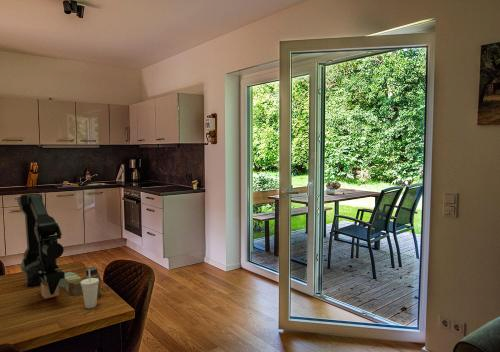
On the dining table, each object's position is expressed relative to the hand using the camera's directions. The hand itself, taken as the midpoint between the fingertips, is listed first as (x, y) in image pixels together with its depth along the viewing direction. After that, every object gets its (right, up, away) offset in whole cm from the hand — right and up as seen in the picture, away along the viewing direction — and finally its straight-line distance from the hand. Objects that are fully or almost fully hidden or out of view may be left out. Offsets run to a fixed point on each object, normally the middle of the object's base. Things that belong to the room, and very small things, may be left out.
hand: (50, 292), depth 145 cm
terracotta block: (0, -1, 0) cm, 1 cm away
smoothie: (+19, -3, -7) cm, 20 cm away
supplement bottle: (+16, -3, +3) cm, 16 cm away
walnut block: (+8, -2, +6) cm, 10 cm away
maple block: (+4, -2, +11) cm, 12 cm away
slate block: (0, -2, +15) cm, 15 cm away
